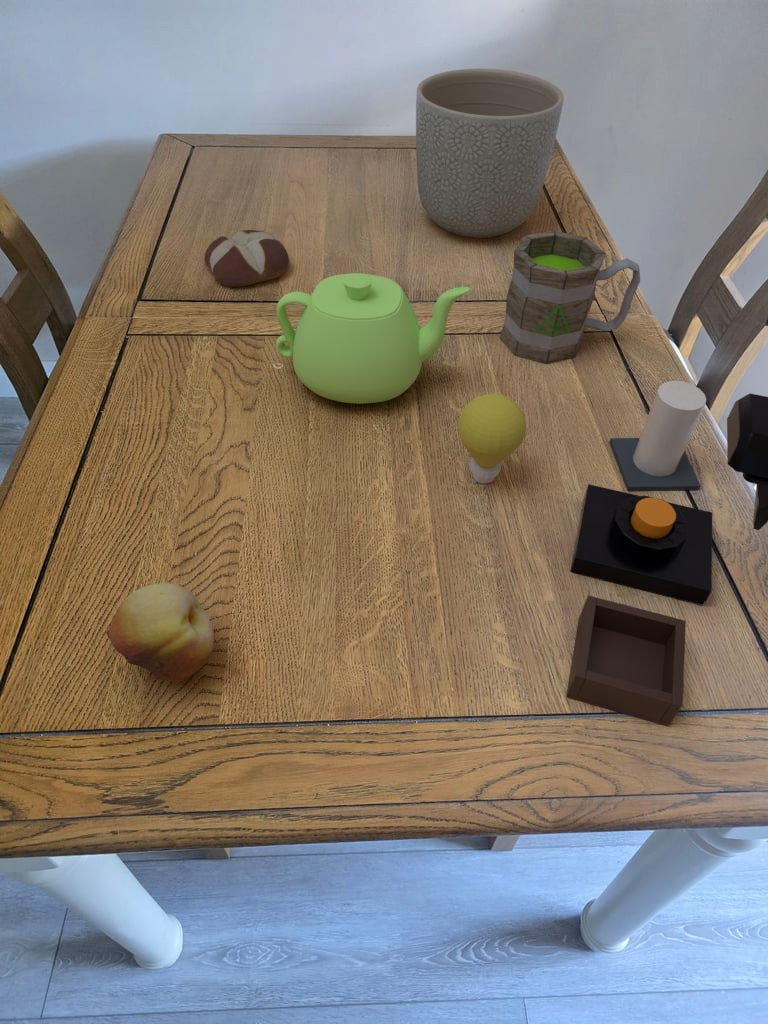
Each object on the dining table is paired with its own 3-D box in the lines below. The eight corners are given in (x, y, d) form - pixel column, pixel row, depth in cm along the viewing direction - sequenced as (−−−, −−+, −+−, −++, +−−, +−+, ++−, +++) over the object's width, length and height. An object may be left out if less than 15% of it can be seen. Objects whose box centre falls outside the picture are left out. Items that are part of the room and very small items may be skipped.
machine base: (704, 527, 70) (719, 499, 67) (703, 605, 64) (719, 579, 61) (583, 498, 73) (592, 471, 70) (570, 572, 66) (579, 544, 63)
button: (671, 515, 66) (677, 502, 65) (669, 543, 64) (675, 530, 63) (632, 506, 67) (637, 493, 66) (629, 533, 65) (634, 520, 64)
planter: (537, 197, 121) (559, 71, 107) (542, 257, 107) (569, 121, 93) (415, 190, 122) (422, 64, 108) (405, 248, 108) (411, 112, 94)
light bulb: (528, 478, 75) (546, 403, 67) (484, 508, 72) (498, 433, 64) (482, 445, 78) (494, 371, 71) (438, 473, 75) (446, 398, 68)
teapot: (459, 348, 90) (470, 251, 81) (457, 424, 80) (469, 324, 71) (289, 337, 91) (280, 240, 82) (266, 411, 81) (252, 310, 72)
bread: (298, 278, 101) (295, 245, 98) (221, 295, 98) (215, 262, 94) (272, 244, 108) (268, 212, 104) (199, 259, 105) (193, 226, 101)
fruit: (198, 712, 56) (178, 659, 50) (105, 686, 58) (75, 631, 52) (237, 633, 61) (223, 577, 55) (150, 611, 62) (127, 554, 57)
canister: (677, 452, 77) (706, 385, 70) (675, 481, 74) (706, 414, 67) (634, 443, 78) (659, 376, 71) (630, 471, 75) (656, 404, 68)
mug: (503, 362, 88) (518, 274, 80) (496, 315, 96) (509, 229, 87) (628, 366, 88) (658, 278, 79) (612, 318, 96) (637, 233, 87)
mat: (699, 489, 74) (701, 485, 73) (627, 490, 74) (629, 487, 73) (676, 441, 79) (677, 437, 78) (609, 442, 79) (610, 438, 78)
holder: (672, 643, 61) (686, 620, 59) (668, 726, 56) (682, 705, 53) (578, 618, 63) (587, 595, 60) (565, 697, 57) (575, 675, 55)
